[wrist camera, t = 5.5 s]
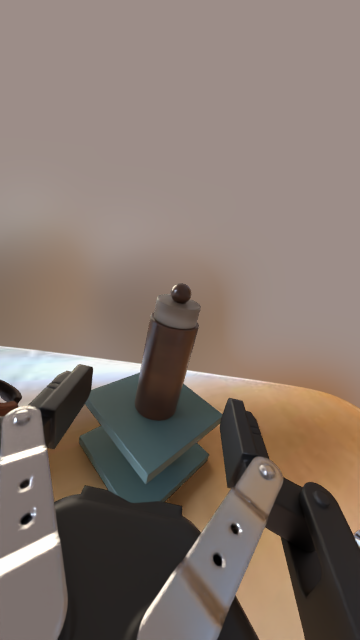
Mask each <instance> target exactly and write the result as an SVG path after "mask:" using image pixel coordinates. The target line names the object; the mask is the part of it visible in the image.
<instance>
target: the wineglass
mask: <svg viewBox="0 0 360 640" xmlns="http://www.w3.org/2000/svg"><path fill="white" fill-rule="evenodd" d="M354 537H355V539H356V541H357V543H358V545H359V547H360V530H357V531H356V532H355V533H354Z"/></svg>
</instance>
